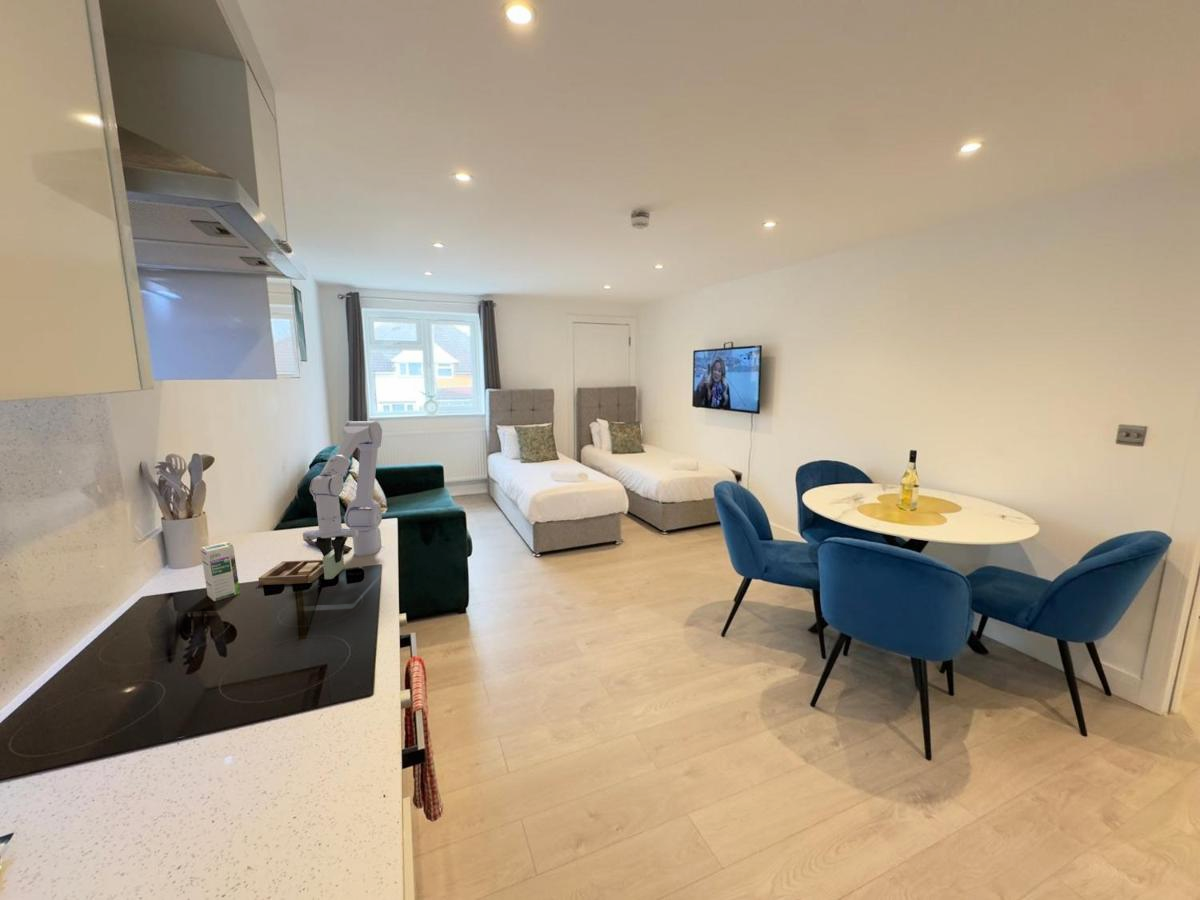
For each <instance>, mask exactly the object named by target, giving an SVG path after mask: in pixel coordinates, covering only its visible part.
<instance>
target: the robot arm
mask: <svg viewBox="0 0 1200 900" xmlns="http://www.w3.org/2000/svg"><path fill="white" fill-rule="evenodd" d="M342 434H343V438H342V441H341V443H340V445H339V446H338V447H339V448H338V450H337V452H336V454H334V455H331V456H330V457H329V459H328V460H327V461H326V463H325V465H324V467H323V468H322V470H321V472H320V473H319V475H317V476H315V477H314V478H312V479H311V482H310V485H309V488H308V489H309V493H310V494H311V495H312V498H313V501H314V503H315V505H316V514H317V524H318V529H316V530H314V529H313V530H306V531H304V532H303V533H302V538H303V539H302V540H303V541H304V540H305V541H307V540H309V539H311V540H312V539H316V540H315V542H314V544H315V546H316V548H317V549H319V550H320V552H321V554H322V556H323V557H324V556H325V555H327V554H328V553H329V552H331V551H332V550H333V549H334V553H335V562H336V563H338V562H339V561H341V556H342V551H343V552H344V548H345V545H346V542H347V540H348V538H352V545H353V554H354V555H355V556H357V557H358V556H359V557H363V556H364V557H365V556H370V555H374V554H376V553H377V552H379V549H385V546H384V545H383V546H382V537H381V535H382V533H381V529H380V528H379V526H380V525H381V523H382V520H383V514H382V506H381V504H380V503H379V502H378V501H376V500H375V499H374V492H375V482H376V469H377V462H378V460H377V459H378V452H379V451H378V450H379V448H380V447H382V438H383V429H382V427H381V424H380V422H379V421H378V420H369V421H365V420H362V421H361V420H359V421H358V420H356V421H353V420H348V421H347V422H345V424H344V426H343V428H342ZM356 449H358V450H359V452H360V453H359V461H358V471H357V472H358V473H357V482H356V491H355V498H354V499H353V500H351V502H349V503H348V504H347V507H346V512H345V514H344V518H343V519H344V524H345V526H346V527H347V528H345V527H344V528H342V517H341V508H340V507H341V506H340V496H339V495H340V494H341V492H342V490H343V483H344V477H345V475H346V474H347V471H348V469H349V467H350V465H351V464H350V461H349V459H350V458H351V456H352V455H353V453H354V452H355V450H356Z"/></svg>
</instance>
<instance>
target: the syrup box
mask: <svg viewBox="0 0 1200 900" xmlns="http://www.w3.org/2000/svg"><path fill="white" fill-rule="evenodd" d="M199 549H200V556H201V561H202V562H201V563H202V567H203V573H204V580H205V586H206V593H207V596H208V598H210V599H211V600H212V601H213V602H217V601H221V600H223V599H226V598H230V597H232V596H236V595H239V594H241V589H240V582H239V577H238V570H237V569H238V568H237V562H236V557H235V556H236V555H235V550H234V549H235V548H234V545H233V544H231V542H228V541H224V542H221V543H216V544H211V545H207V546H202V547H201V548H199Z"/></svg>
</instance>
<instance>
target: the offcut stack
mask: <svg viewBox="0 0 1200 900" xmlns="http://www.w3.org/2000/svg"><path fill="white" fill-rule="evenodd" d="M320 566H321V565H320V562H317V563H307V564H306V565H305V566H304V567H303V568H302V569H301V570H299V571H298V575H307V577H308V576H309V575H310V574H311V573H313V572H314V571H315V570H316V569H317V568H319V567H320ZM308 579H309V577H308Z"/></svg>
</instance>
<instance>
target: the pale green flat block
mask: <svg viewBox="0 0 1200 900" xmlns="http://www.w3.org/2000/svg"><path fill="white" fill-rule="evenodd" d="M322 560H323V566H324V573H323V575H324V580H333V579H335V577H336V576H337V575H338V574H339V573H340V572H341V571H343V570H344V569H345V561H344V550H343V551H342V556H341V561H339V562H338V563H336V562H335V553H334V549H333V548H332V549H331V552H329V553H328V554H327V555H325V556H323V557H322Z"/></svg>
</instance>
